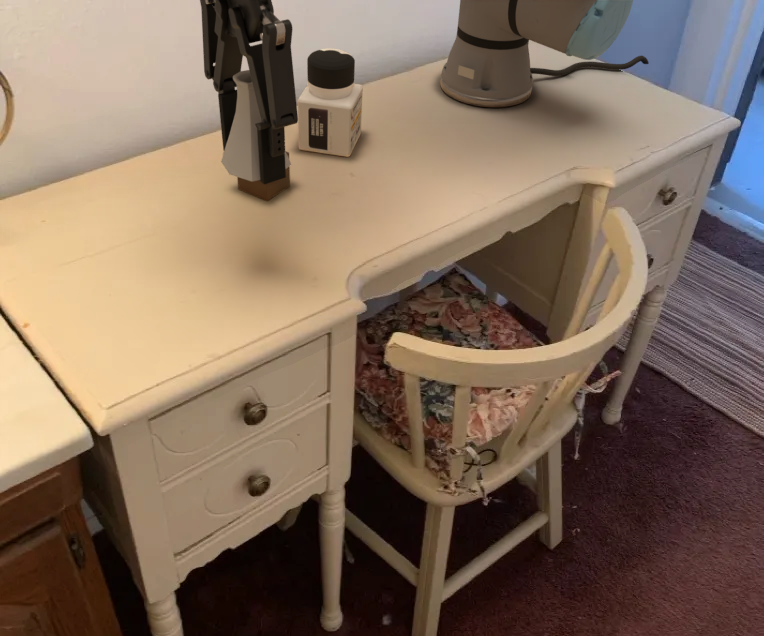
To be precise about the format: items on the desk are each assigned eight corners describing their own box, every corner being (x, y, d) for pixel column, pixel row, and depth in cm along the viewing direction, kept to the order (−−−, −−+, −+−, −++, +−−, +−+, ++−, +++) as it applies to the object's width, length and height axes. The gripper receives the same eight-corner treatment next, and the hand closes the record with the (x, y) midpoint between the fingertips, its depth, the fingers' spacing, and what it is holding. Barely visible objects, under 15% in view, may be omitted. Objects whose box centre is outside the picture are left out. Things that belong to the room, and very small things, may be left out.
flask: (261, 142, 95) (255, 55, 88) (303, 167, 91) (300, 78, 84) (209, 163, 91) (198, 74, 84) (250, 190, 88) (243, 99, 81)
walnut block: (261, 174, 115) (259, 141, 112) (290, 186, 114) (289, 152, 110) (238, 189, 112) (235, 155, 109) (267, 201, 111) (265, 167, 107)
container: (349, 158, 120) (352, 68, 111) (297, 150, 121) (296, 61, 112) (361, 134, 126) (364, 47, 117) (311, 126, 126) (311, 40, 117)
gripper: (149, -91, 79) (179, 135, 95) (260, -28, 68) (273, 216, 84) (219, -101, 82) (237, 119, 98) (336, -42, 71) (334, 194, 87)
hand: (254, 163), depth 91 cm, fingers closed on flask, 7 cm apart
